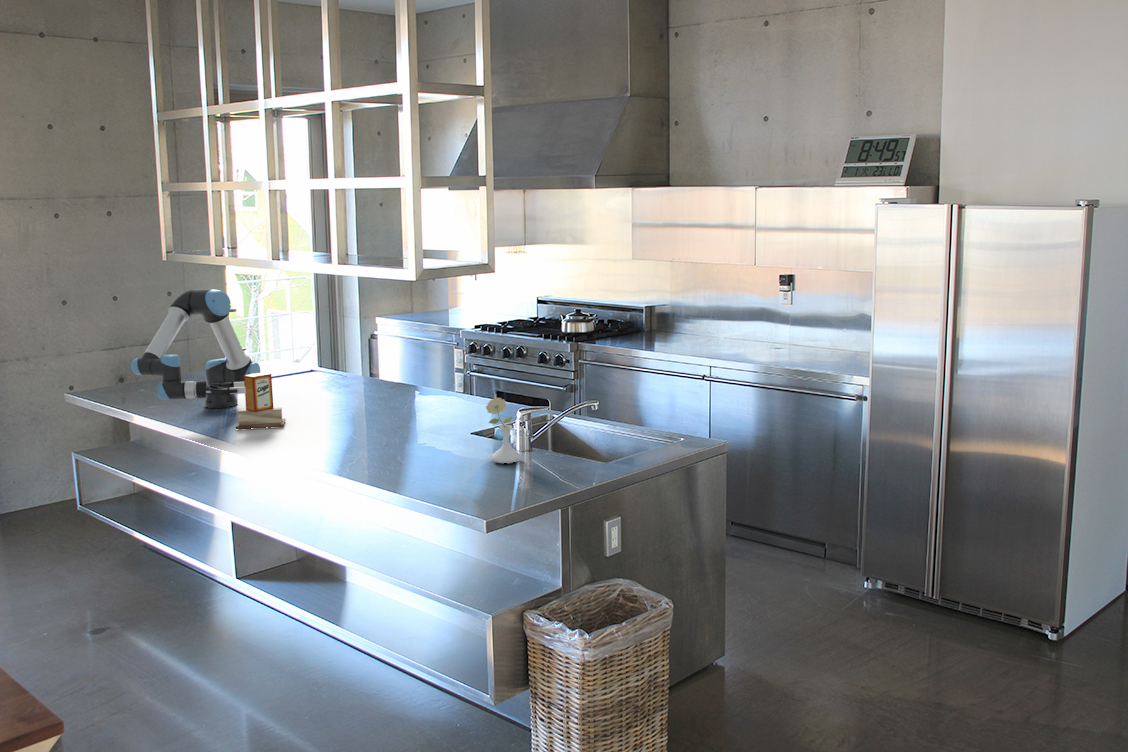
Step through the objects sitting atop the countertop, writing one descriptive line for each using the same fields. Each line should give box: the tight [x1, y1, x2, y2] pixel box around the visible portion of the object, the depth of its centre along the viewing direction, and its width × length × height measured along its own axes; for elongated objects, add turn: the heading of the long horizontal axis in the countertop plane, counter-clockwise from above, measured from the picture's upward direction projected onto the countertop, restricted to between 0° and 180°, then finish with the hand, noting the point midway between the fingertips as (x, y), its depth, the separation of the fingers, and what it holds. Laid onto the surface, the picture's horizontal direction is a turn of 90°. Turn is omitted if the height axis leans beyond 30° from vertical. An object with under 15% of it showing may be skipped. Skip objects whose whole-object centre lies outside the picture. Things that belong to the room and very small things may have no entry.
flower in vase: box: [485, 397, 522, 464], centre depth 354 cm, size 13×11×25 cm
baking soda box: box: [244, 372, 274, 412], centre depth 415 cm, size 10×6×16 cm
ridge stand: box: [235, 407, 286, 430], centre depth 418 cm, size 12×20×8 cm, turn 102°
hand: (247, 387), depth 414 cm, fingers open, 13 cm apart
